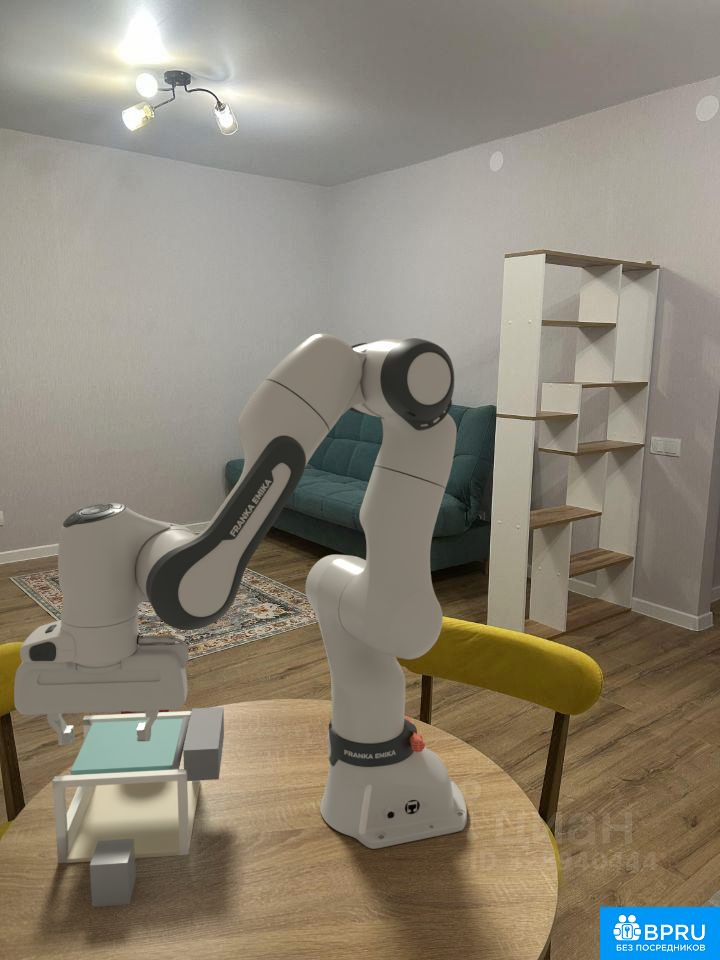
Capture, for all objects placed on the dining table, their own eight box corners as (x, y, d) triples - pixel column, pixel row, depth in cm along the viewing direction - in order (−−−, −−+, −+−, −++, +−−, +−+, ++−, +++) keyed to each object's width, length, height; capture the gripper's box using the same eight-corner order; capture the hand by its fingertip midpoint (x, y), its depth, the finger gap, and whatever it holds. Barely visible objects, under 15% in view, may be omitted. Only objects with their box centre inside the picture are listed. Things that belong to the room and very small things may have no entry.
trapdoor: (224, 731, 117) (223, 704, 116) (218, 783, 104) (217, 752, 103) (94, 738, 115) (93, 709, 114) (70, 791, 101) (68, 760, 100)
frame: (200, 781, 120) (198, 710, 118) (188, 854, 103) (185, 773, 101) (89, 787, 118) (84, 715, 116) (58, 863, 101) (52, 781, 99)
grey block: (135, 878, 99) (134, 838, 97) (129, 904, 94) (127, 862, 93) (100, 880, 98) (98, 840, 97) (92, 906, 94) (89, 865, 92)
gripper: (190, 625, 94) (192, 724, 96) (23, 628, 92) (30, 730, 94) (184, 644, 88) (187, 750, 90) (5, 649, 85) (13, 758, 88)
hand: (105, 740), depth 92 cm, fingers open, 8 cm apart
